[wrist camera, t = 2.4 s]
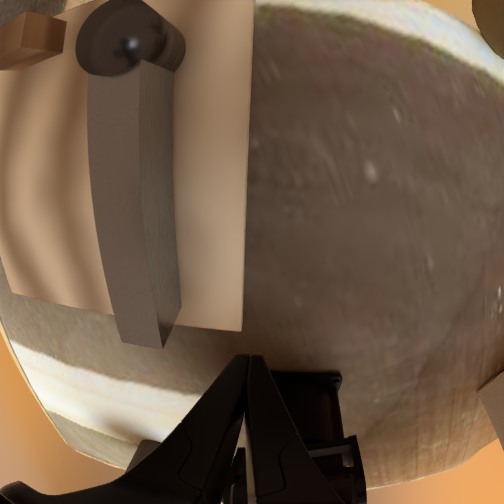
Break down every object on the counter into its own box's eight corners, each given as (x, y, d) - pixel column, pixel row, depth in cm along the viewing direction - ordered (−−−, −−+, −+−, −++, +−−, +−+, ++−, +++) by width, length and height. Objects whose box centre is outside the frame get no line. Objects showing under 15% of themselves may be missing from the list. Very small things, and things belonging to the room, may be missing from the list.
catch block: (67, 21, 11) (27, 10, 7) (62, 52, 12) (20, 47, 8) (24, 41, 11) (-15, 37, 7) (20, 70, 12) (-20, 71, 8)
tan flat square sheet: (255, -20, 11) (254, -27, 10) (242, 322, 20) (241, 331, 19) (-7, 55, 12) (-15, 55, 11) (18, 287, 21) (12, 292, 20)
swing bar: (125, 29, 11) (80, 9, 7) (188, 19, 11) (157, -13, 7) (138, 301, 18) (110, 344, 14) (190, 307, 18) (170, 356, 14)
